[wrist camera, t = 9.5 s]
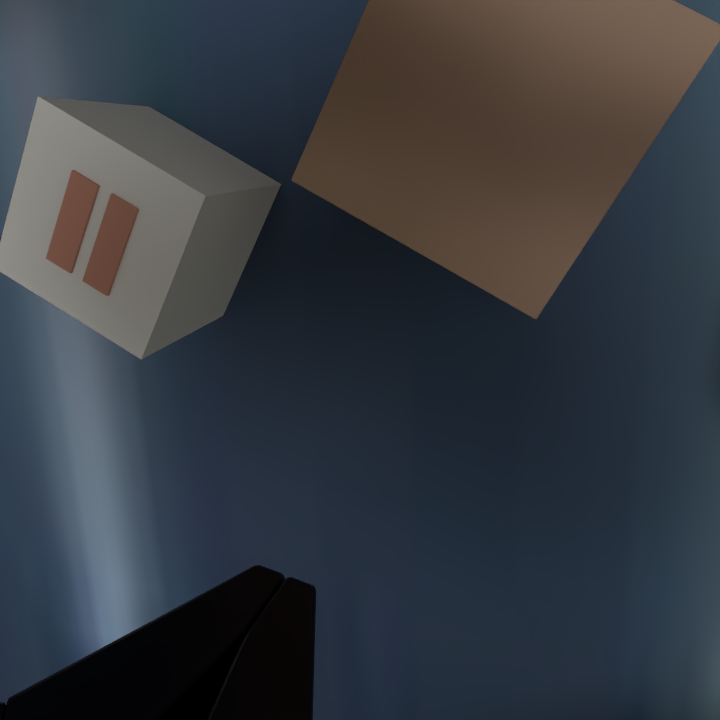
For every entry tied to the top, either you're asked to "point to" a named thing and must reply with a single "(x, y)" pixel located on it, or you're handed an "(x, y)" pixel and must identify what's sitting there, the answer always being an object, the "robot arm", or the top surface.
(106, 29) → the top surface
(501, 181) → the walnut block
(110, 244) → the grey block marked
